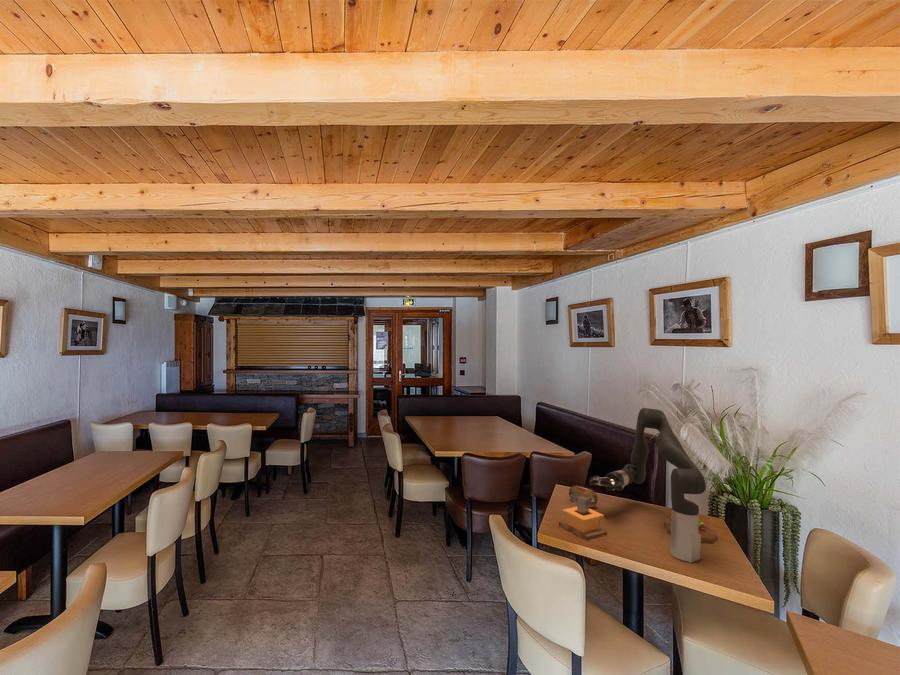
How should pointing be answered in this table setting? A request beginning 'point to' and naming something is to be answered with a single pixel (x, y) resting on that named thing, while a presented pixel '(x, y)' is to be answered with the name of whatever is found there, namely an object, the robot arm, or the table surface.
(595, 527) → the orange square collar
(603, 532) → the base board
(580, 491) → the tin
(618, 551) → the table surface
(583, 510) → the dark grey rectangular block
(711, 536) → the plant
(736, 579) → the table surface
